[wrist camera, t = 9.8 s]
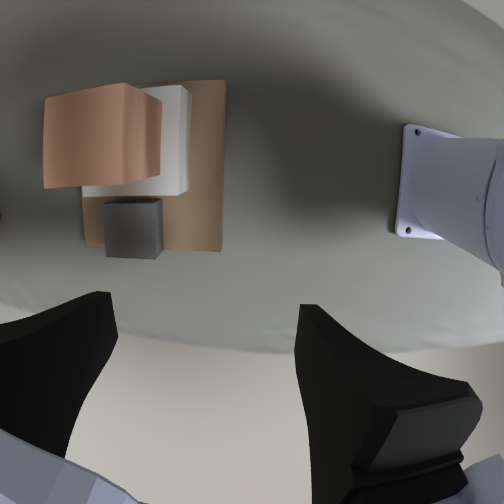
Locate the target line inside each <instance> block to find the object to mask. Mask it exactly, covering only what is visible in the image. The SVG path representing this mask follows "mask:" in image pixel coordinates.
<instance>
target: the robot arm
mask: <svg viewBox="0 0 504 504" xmlns="http://www.w3.org/2000/svg"><path fill="white" fill-rule="evenodd" d="M415 129H416V130H417V131H418V135H416V134H415ZM407 227H409V231H408V232H407V233H406V232H405V230H406V228H407ZM395 233H396V234H397V235H398V236H400V237H412V238H426V239H439V240H447V241H449V242H451V243H453V244H455V245H456V246H458V247H460V248H462V249H464V250H465V251H467V252H469V253H471V254H472V255H474V256H476V257H477V258H479V259H481V260H483V261H484V262H486V263H488V264H489V265H491V266H493V267H494V268H496V269H497V270H499V272H500V275H501V286H502V287H504V139H492V138H463V137H459V136H456V135H452V134H449V133H445V132H442V131H438V130H434V129H430V128H426V127H422V126H418V125H413V124H407V125H405V127H404V130H403V150H402V166H401V178H400V188H399V198H398V207H397V215H396V222H395ZM117 339H118V332H117V327H116V322H115V316H114V311H113V305H112V299H111V293H110V292H102V291H96V292H92V293H88V294H86V295H83V296H80V297H78V298H75V299H73V300H71V301H68V302H66V303H63V304H61V305H59V306H56V307H54V308H51V309H48V310H46V311H43V312H41V313H38V314H35V315H33V316H30V317H26V318H23V319H20V320H16V321H12V322H8V323H3V324H0V504H147V503H143V502H139V501H137V500H136V499H134V498H133V497H132V496H131V495H130V494H129V493H128V492H127V491H126V490H125V489H123V488H121V487H120V486H118V485H116V484H114V483H112V482H111V481H109V480H108V479H106V478H104V477H103V476H101V475H99V474H98V473H95V472H93V471H91V470H89V469H86V468H84V467H82V466H80V465H78V464H75V463H73V462H71V461H69V460H66V459H65V455H66V450H67V447H68V443H69V440H70V436H71V433H72V430H73V427H74V425H75V421H76V419H77V417H78V414H79V411H80V409H81V407H82V404H83V402H84V400H85V398H86V396H87V394H88V392H89V391H90V389H91V388H92V386H93V384H94V383H95V381H96V379H97V377H98V376H99V374H100V373H101V371H102V369H103V367H104V366H105V364H106V363H107V361H108V359H109V358H110V356H111V354H112V351H113V349H114V347H115V344H116V341H117ZM294 353H295V365H296V374H297V379H298V384H299V388H300V393H301V397H302V402H303V406H304V411H305V415H306V420H307V426H308V435H309V447H310V461H311V482H312V504H504V460H503V459H502V457H501V455H500V454H495V455H493V456H491V457H489V458H487V459H484V460H482V461H480V462H477V463H475V464H473V465H471V466H470V467H468V468H467V469H466V470H464V471H463V470H462V468H461V466H460V464H459V463H461V462H462V461H463V459H464V456H463V454H462V452H461V451H460V448H461V447H462V445H463V444H464V443H465V441H466V440H467V439H468V437H469V436H470V434H471V433H472V432H473V430H474V429H475V427H476V425H477V423H478V422H479V420H480V417H481V414H482V410H483V406H482V402H481V400H480V399H479V398H478V396H477V395H476V394H475V392H474V390H473V389H472V388H471V386H470V385H469V384H468V382H464V381H459V380H454V379H449V378H445V377H440V376H436V375H433V374H430V373H426V372H423V371H420V370H418V369H415V368H412V367H409V366H407V365H405V364H403V363H400V362H398V361H395V360H394V359H392V358H389V357H388V356H386V355H384V354H382V353H380V352H379V351H377V350H375V349H373V348H372V347H370V346H368V345H367V344H365V343H364V342H362V341H361V340H360V339H358V338H357V337H355V336H354V335H353V334H351V333H350V332H349V331H348V330H346V329H345V328H344V327H343V326H341V325H340V324H339V323H338V322H337V321H336V320H334V319H333V318H332V317H331V316H330V315H329V314H328V313H326V312H325V311H324V310H323V309H322V308H321V307H319V306H318V305H317V304H300V310H299V318H298V326H297V334H296V341H295V348H294Z"/></svg>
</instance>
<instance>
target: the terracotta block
mask: <svg viewBox="0 0 504 504" xmlns="http://www.w3.org/2000/svg"><path fill="white" fill-rule="evenodd" d="M161 121H162V101H160V100H159V99H157V98H155V97H153V96H151V95H149V94H147V93H145V92H143V91H141V90H139V89H137V88H135V87H133V86H131V85H129V84H127V83H125V82H124V83H117V84H111V85H105V86H99V87H94V88H89V89H84V90H79V91H74V92H70V93H65V94H61V95H57V96H53V97H49V98H46V99H45V111H44V131H43V177H44V189H50V188H63V187H79V186H98V185H122V184H126V183H130V182H133V181H137V180H141V179H145V178H149V177H154V176H158V175H160V157H161Z"/></svg>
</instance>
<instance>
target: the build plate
mask: <svg viewBox="0 0 504 504" xmlns="http://www.w3.org/2000/svg"><path fill="white" fill-rule="evenodd" d="M133 87H135V88H137V89H139V90H141V91H143V92H145V93H147V94H149V95H151V96H153V97H155V98H157V99H159V100H160V101H162V121H161V157H160V175H158V176H154V177H149V178H145V179H141V180H137V181H133V182H130V183H126V184H122V185H98V186H81V193H82V210H83V223H84V233H85V243H86V246H92V247H105V249H106V257H118V258H137V259H156V258H157V257H158V256H159V255H160V253H161V252H162V251H163V250H164V249H165V250H189V251H214V252H221V249H222V224H223V176H224V144H225V118H226V95H227V82H226V80H191V81H174V82H161V83H151V84H142V85H133Z"/></svg>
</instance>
